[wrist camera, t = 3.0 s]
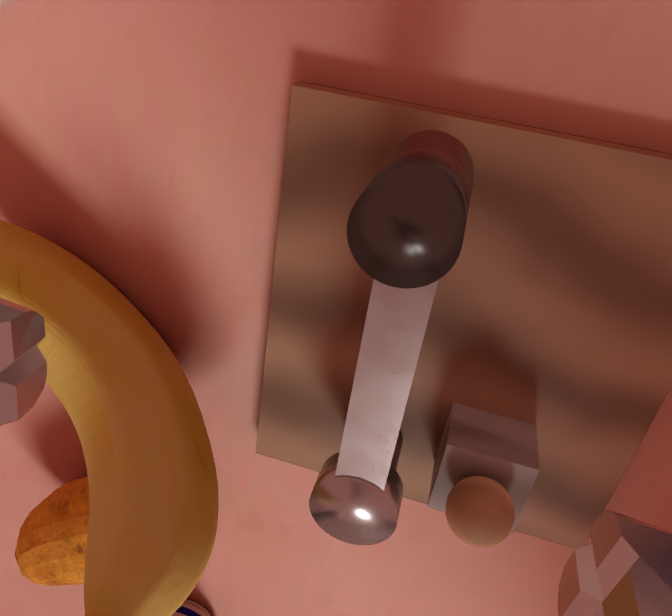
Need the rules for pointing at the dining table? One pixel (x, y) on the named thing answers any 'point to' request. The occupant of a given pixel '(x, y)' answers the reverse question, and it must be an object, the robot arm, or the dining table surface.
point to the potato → (56, 537)
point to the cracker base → (481, 316)
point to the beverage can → (191, 609)
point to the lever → (392, 323)
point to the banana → (121, 430)
